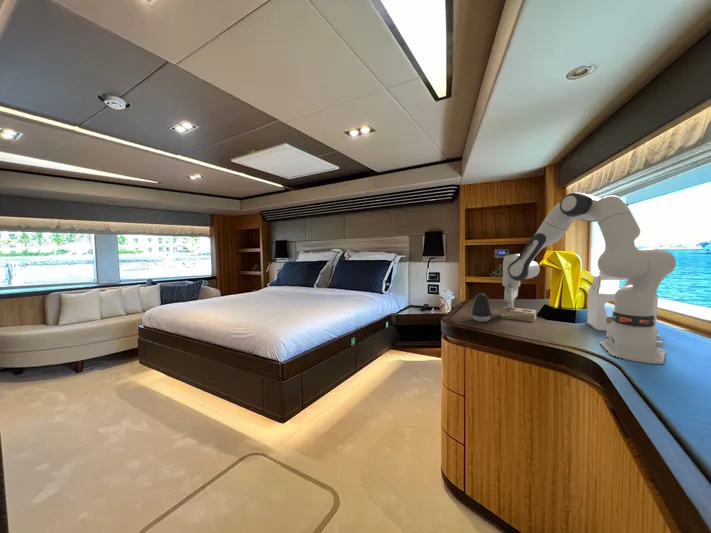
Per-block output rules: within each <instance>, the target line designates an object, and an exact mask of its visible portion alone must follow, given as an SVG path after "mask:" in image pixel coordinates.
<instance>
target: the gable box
mask: <svg viewBox="0 0 711 533" xmlns="http://www.w3.org/2000/svg"><path fill="white" fill-rule="evenodd" d="M605 280H607V281H609V280H611V281H614V280H615V281H627V280H628V278H615V277H610V276H606V275H604V274H602V273H601V272H600V271H599V275H597V276H593V280H592V283H591V285H590V287H589V288H588V291H587V292H588V293H587V315H586V317H587V318H586V320H587V321H586V323H587V324H588V325H589V326H591V327H592V328H593V329H595V330H596V331H605V332H607V325H608V324H610V323H611V322H613V320H612V316H608V314H607V311H606V309H605V304H606V303H608V302H615V293H616V291H617V290H618V289H620V288H621V287H602V286H601V282H602V281H605ZM658 300H659V296H658V293H656V294H655V298H654V308H653V315H654V319H655V322H654V327H655V328H656V329H657V321H658V320H657V319H658V318H657V316H658V302H659V301H658Z"/></svg>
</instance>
